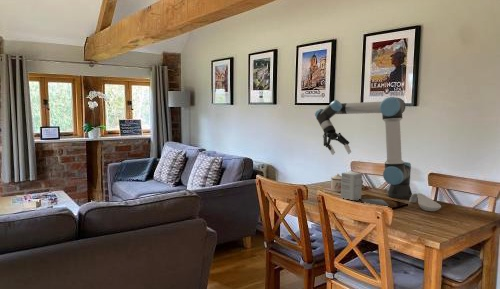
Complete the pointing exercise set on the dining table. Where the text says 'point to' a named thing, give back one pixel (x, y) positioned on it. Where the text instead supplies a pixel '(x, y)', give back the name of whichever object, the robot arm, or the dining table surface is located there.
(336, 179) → the teacup with lid
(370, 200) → the charcoal mat
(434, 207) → the spoon rest
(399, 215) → the dining table surface
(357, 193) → the supplement box
